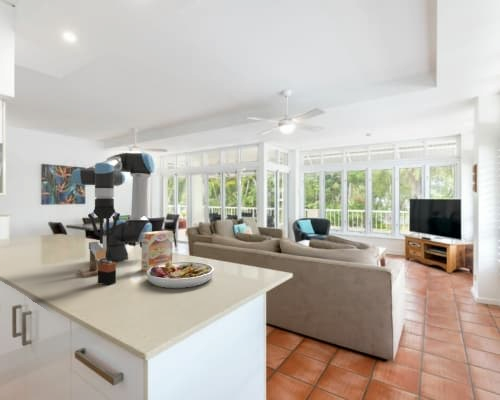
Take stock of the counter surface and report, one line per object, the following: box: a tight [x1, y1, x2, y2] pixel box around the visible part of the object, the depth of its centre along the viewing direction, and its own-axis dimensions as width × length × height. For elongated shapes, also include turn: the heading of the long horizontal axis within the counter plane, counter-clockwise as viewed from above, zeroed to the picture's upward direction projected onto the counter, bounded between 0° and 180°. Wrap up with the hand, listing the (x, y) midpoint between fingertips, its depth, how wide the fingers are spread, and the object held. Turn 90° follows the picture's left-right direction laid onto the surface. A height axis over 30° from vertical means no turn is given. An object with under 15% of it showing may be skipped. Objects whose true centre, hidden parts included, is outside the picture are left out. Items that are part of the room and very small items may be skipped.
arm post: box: [78, 249, 98, 279], centre depth 136 cm, size 10×10×12 cm
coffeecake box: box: [140, 230, 174, 272], centre depth 148 cm, size 15×7×20 cm, turn 143°
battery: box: [97, 260, 117, 286], centre depth 122 cm, size 4×7×10 cm, turn 63°
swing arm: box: [88, 241, 106, 260], centre depth 127 cm, size 4×26×4 cm, turn 36°
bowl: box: [146, 261, 215, 289], centre depth 129 cm, size 30×30×8 cm
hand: (104, 250), depth 123 cm, fingers closed
